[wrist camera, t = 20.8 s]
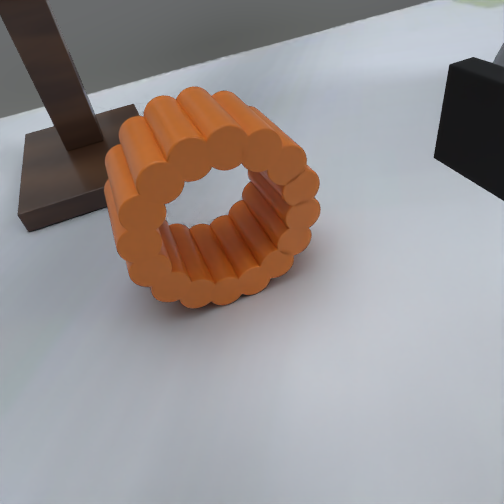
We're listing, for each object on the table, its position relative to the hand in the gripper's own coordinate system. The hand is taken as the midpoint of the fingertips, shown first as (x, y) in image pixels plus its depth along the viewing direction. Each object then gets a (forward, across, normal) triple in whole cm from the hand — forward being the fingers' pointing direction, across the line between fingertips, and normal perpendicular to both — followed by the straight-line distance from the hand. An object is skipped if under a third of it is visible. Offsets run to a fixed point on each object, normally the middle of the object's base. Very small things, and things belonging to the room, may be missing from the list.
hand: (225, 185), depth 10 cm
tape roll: (+7, 0, -10) cm, 12 cm away
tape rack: (+24, -5, -10) cm, 26 cm away
